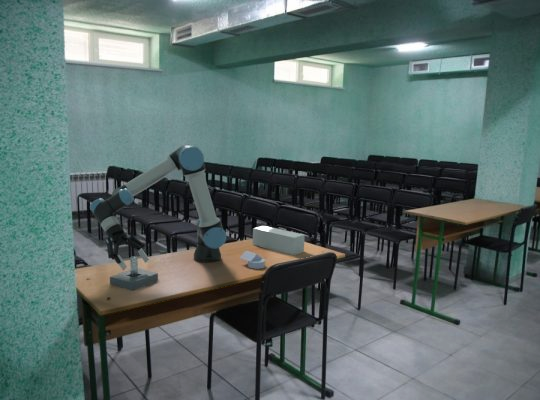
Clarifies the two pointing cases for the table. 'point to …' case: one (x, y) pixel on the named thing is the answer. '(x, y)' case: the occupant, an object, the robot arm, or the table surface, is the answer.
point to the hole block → (133, 279)
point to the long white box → (278, 240)
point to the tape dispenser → (253, 260)
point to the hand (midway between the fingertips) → (136, 264)
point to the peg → (133, 266)
